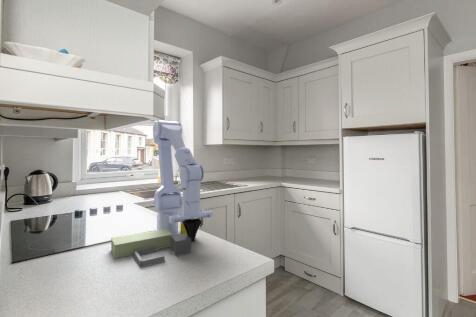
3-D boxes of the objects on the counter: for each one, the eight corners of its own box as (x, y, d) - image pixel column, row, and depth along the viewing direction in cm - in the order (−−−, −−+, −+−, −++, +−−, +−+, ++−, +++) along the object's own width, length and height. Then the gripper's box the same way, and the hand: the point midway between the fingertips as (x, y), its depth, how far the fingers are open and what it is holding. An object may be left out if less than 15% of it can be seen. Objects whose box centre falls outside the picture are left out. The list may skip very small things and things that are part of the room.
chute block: (170, 249, 83) (170, 235, 83) (185, 246, 86) (185, 233, 86) (175, 255, 78) (175, 241, 78) (191, 252, 81) (191, 238, 81)
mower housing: (111, 249, 82) (111, 237, 82) (165, 239, 92) (165, 228, 92) (120, 271, 68) (120, 257, 68) (184, 256, 78) (184, 243, 78)
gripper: (174, 205, 76) (174, 249, 77) (216, 200, 84) (216, 240, 85) (167, 201, 82) (167, 242, 83) (206, 197, 90) (206, 234, 91)
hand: (191, 241), depth 84 cm, fingers closed
